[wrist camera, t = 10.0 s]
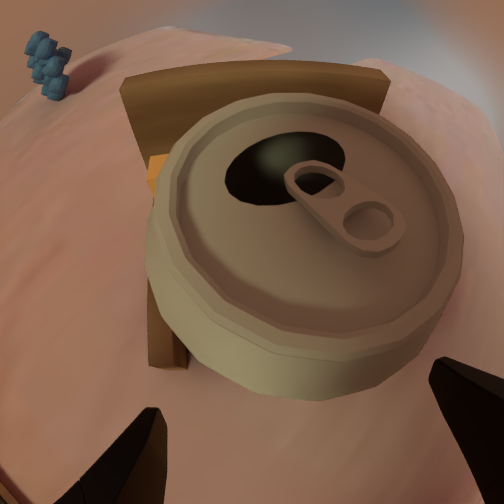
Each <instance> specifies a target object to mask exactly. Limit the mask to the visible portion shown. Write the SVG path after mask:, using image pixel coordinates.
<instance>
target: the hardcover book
mask: <svg viewBox="0 0 504 504" xmlns="http://www.w3.org/2000/svg"><path fill="white" fill-rule="evenodd" d="M0 504H19V503H18V502H17V501H16V500H15V498H14V497H13V496H12V495H11V494H10V493H9V492H8V490H7V489H6V488H5V487H4V486H3V484H2V483H1V482H0Z"/></svg>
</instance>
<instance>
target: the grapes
mask: <svg viewBox="0 0 504 504" xmlns="http://www.w3.org/2000/svg"><path fill="white" fill-rule="evenodd" d="M57 43H58V42H57V41H55V40H53V39H50V38H49V34H47V33H45V32H42V31H38V32H35V33H34V34H33V35H32V36H31V39H30V40H29V41H28V44H27V46H26V49H25V54H27V55H30V57H29V60H28V63H27V67H29V68H32V69H33V72H32V77H31V78H33V79H34V81H33V82H34V83H37V84H43V87H42V92H41V95H44V96H48V97H47V99H50V100H54V101H57V100H61V99H62V98H63V96H64V94H65V90H66V88H67V85H68V81H69V76H67V75H64V74H63V70H64V66H65V65H66V64H67V63H68V62H69V59H70V57H71V53H72V50H70V49H68V48H65V47H61V48H59V49H58V50H57V49H56V47H57Z"/></svg>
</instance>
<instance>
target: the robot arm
mask: <svg viewBox="0 0 504 504" xmlns="http://www.w3.org/2000/svg"><path fill="white" fill-rule="evenodd" d="M428 380H429V384H430V386H431V389H432V391H433V393H434V395H435V398H436V400H437V402H438V405H439V407H440V410H441V412H442V414H443V416H444V418H445V420H446V422H447V424H448V426H449V428H450V430H451V431H452V433H453V435H454V437H455V439H456V441H457V443H458V445H459V447H460V449H461V451H462V453H463V455H464V457H465V459H466V461H467V463H468V466H469V468H470V470H471V472H472V474H473V476H474V479H475V481H476V483H477V485H478V488H479V490H480V492H481V495H482V498H483V500H484V503H485V504H504V379H503V378H500V377H497V376H495V375H492V374H489V373H487V372H484V371H481V370H479V369H476V368H474V367H471V366H468V365H466V364H463V363H461V362H458V361H456V360H453V359H451V358H448V357H441V358H438V359H436V360H435V361H434V363H433V366H432V369H431V372H430V374H429V378H428ZM166 479H167V424H166V422H165V420H164V417H163V415H162V413H161V411H160V409H159V408H156V407H147V408H145V409H144V410H143V411H142V412H141V413H140V414H139V415H138V416H137V417H136V418H135V420H134V421H133V422H132V423H131V424H130V425H129V426H128V427H127V428H126V429H125V431H124V432H123V433H122V434H121V435H120V436H119V437H118V438H117V439H116V440H115V441H114V443H113V444H112V445H111V446H110V447H109V448H108V449H107V450H106V451H105V452H104V453H103V454H102V455H101V457H100V458H99V459H98V460H97V461H96V462H95V463H94V464H93V465H92V466H91V467H90V468H89V469H88V470H87V471H86V472H85V474H84V475H83V476H82V477H81V478H80V481H79V480H78V481H77V482H76V483H75V484H74V485H73V486H72V487H71V488H70V489H69V490H68V491H67V492H66V493H65V494H64V495H63V496H62V497H61V498H59V499H58V500H57V501H56V502H55V503H53V504H164V496H165V487H166Z"/></svg>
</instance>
